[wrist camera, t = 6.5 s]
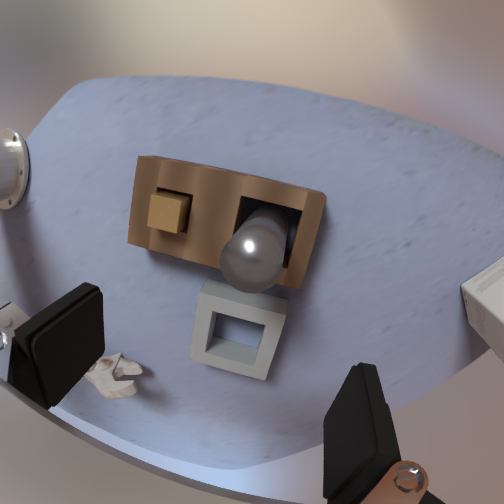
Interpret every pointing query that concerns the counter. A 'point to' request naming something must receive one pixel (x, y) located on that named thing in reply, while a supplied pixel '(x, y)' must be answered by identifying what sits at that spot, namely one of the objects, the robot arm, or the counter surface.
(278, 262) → the grey metal rounded cylinder
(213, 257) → the socket block
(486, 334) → the skincare box
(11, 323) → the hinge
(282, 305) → the holder
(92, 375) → the wrench
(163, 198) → the tan square peg
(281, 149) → the counter surface
